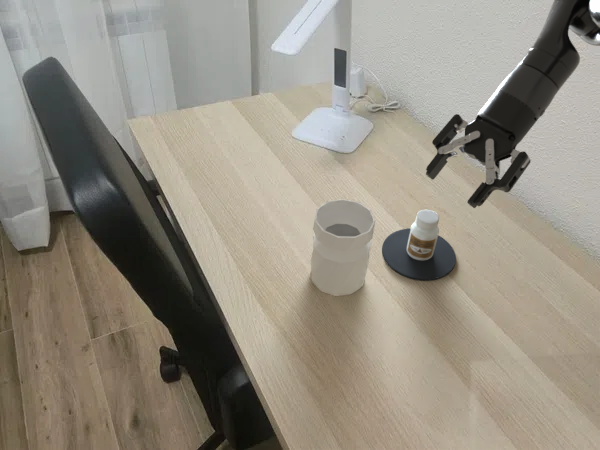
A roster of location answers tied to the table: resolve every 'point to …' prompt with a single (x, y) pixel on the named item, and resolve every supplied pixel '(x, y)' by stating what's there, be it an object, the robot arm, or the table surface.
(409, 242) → the pill bottle
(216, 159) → the table surface
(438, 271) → the rubber mat
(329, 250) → the vase
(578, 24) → the robot arm
